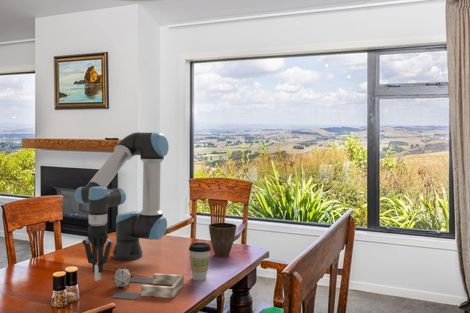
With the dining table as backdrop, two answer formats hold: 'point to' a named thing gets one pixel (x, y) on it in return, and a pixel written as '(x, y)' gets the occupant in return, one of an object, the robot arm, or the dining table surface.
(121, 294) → the mats
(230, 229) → the plant pot
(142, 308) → the dining table surface
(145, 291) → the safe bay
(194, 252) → the coffee cup
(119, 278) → the game die
